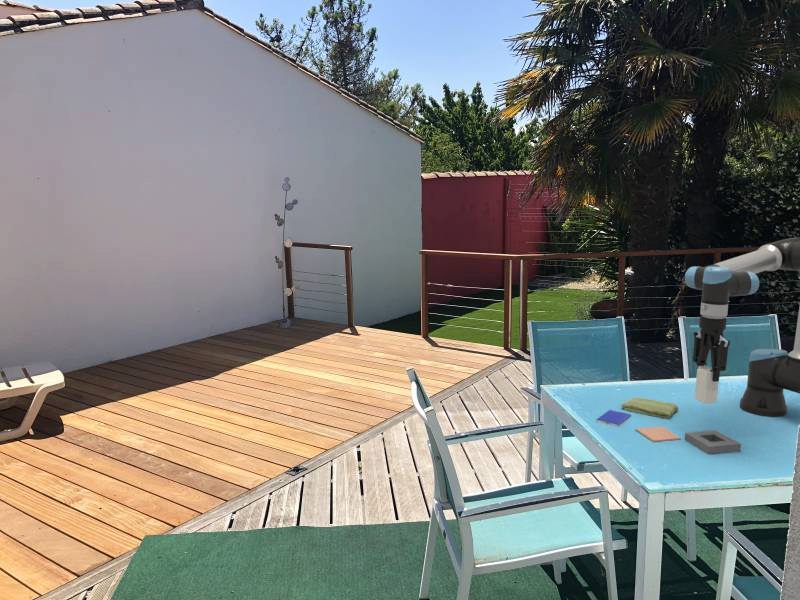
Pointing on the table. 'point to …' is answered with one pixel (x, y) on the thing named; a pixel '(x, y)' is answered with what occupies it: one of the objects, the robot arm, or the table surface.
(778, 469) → the table surface
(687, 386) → the table surface
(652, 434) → the pad
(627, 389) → the table surface
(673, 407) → the washcloth
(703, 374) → the plug
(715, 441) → the gray square ring
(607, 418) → the hard drive
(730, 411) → the table surface
